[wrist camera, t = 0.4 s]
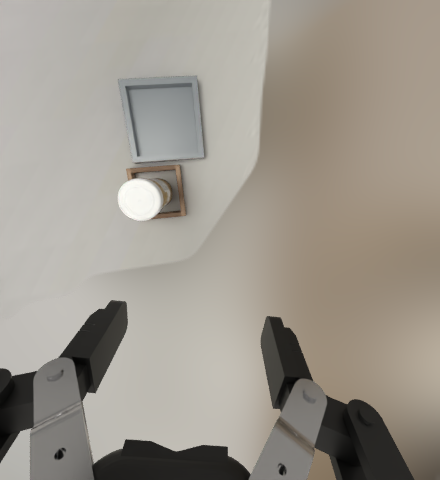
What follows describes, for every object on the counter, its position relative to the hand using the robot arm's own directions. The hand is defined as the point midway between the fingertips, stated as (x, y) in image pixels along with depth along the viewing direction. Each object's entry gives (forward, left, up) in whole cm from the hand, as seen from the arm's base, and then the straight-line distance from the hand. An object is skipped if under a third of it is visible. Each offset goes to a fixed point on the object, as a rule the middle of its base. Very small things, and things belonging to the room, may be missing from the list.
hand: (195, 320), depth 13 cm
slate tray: (-16, -3, -27) cm, 31 cm away
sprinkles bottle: (-6, -5, -27) cm, 28 cm away
